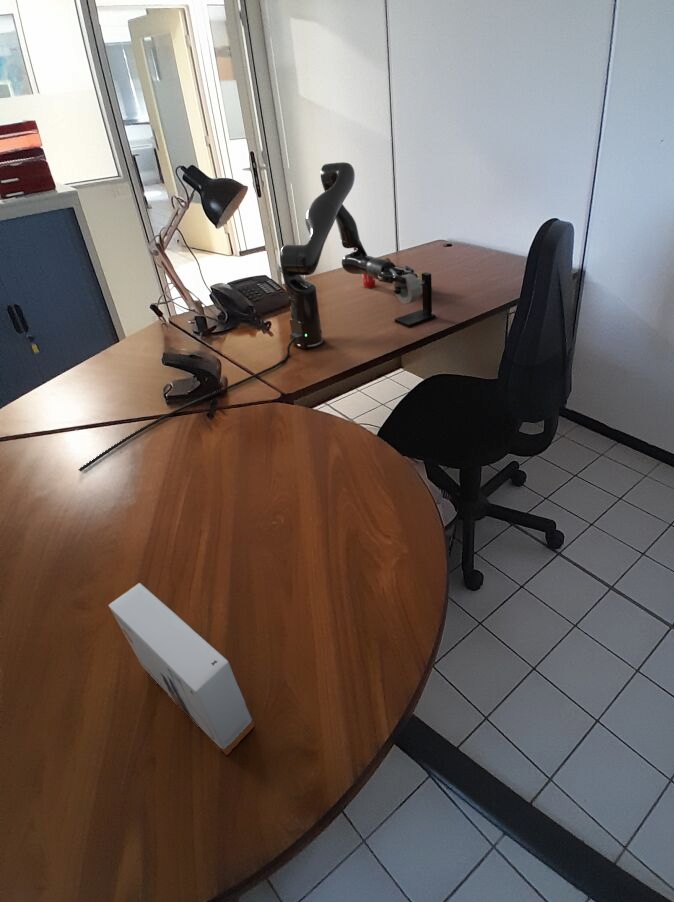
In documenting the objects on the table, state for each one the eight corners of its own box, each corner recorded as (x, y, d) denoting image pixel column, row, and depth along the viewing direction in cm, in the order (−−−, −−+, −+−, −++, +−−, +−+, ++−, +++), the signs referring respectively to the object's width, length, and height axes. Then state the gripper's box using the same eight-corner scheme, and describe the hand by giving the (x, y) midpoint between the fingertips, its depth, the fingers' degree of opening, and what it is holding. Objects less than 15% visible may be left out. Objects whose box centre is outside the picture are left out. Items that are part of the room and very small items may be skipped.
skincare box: (140, 673, 83) (105, 603, 75) (172, 647, 87) (142, 578, 78) (224, 761, 72) (194, 691, 63) (256, 728, 75) (233, 657, 67)
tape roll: (412, 306, 191) (411, 279, 186) (394, 300, 198) (393, 274, 193) (421, 303, 194) (421, 276, 189) (404, 297, 200) (403, 271, 195)
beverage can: (370, 289, 234) (368, 261, 227) (361, 287, 236) (358, 259, 230) (377, 285, 237) (376, 258, 231) (368, 283, 240) (366, 256, 234)
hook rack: (404, 329, 194) (402, 285, 186) (390, 323, 199) (387, 280, 191) (436, 317, 202) (436, 275, 194) (422, 312, 208) (421, 270, 200)
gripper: (364, 263, 196) (394, 273, 184) (395, 255, 203) (426, 264, 192) (366, 283, 199) (395, 294, 188) (396, 275, 207) (426, 285, 196)
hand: (410, 279), depth 190 cm, fingers closed on tape roll, 4 cm apart
